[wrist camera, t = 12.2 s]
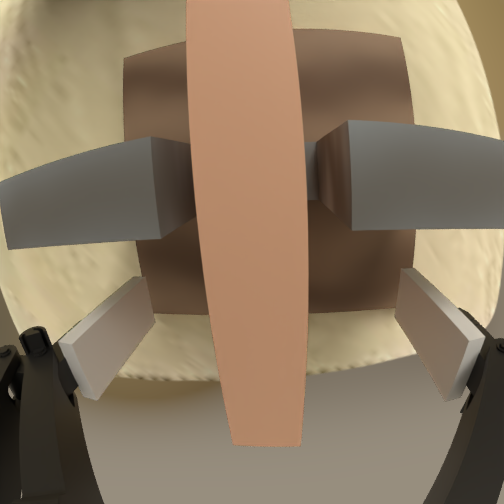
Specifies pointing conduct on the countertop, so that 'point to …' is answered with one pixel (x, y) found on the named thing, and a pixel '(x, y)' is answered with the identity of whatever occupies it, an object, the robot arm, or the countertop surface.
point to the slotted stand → (317, 177)
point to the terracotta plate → (251, 210)
